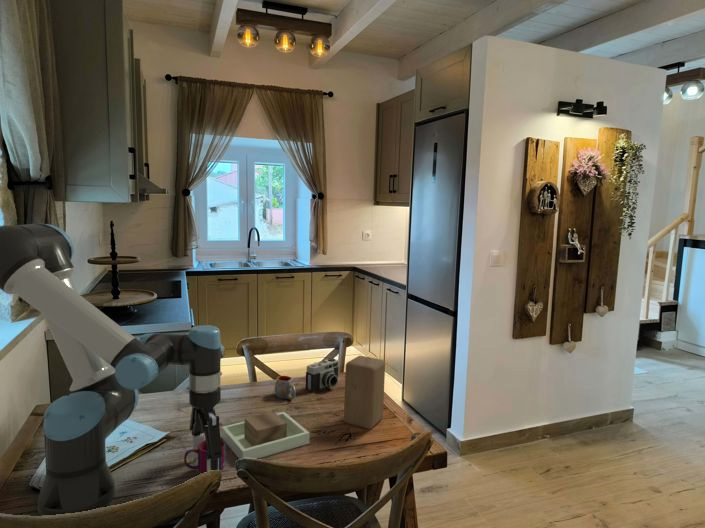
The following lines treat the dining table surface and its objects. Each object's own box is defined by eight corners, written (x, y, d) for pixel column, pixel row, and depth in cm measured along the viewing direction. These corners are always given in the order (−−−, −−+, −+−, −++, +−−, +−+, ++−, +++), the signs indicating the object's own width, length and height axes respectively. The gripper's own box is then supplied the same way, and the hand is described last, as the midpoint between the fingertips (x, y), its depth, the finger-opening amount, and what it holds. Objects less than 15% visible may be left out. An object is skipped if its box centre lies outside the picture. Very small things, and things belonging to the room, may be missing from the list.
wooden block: (342, 423, 150) (344, 362, 147) (356, 411, 159) (359, 354, 156) (370, 430, 145) (373, 368, 143) (383, 418, 154) (386, 359, 152)
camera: (317, 395, 170) (317, 368, 169) (302, 388, 177) (303, 362, 176) (346, 387, 179) (346, 362, 178) (332, 381, 186) (332, 356, 185)
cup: (225, 475, 119) (225, 450, 118) (183, 480, 116) (183, 454, 115) (224, 461, 125) (225, 437, 124) (185, 465, 122) (185, 441, 121)
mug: (271, 393, 171) (271, 376, 170) (288, 390, 175) (289, 373, 174) (284, 406, 161) (284, 387, 160) (302, 402, 164) (303, 384, 164)
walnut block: (257, 451, 129) (257, 430, 128) (244, 437, 136) (244, 418, 136) (286, 443, 134) (286, 423, 134) (272, 430, 142) (273, 411, 141)
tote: (242, 465, 123) (243, 451, 123) (221, 440, 136) (221, 426, 136) (309, 445, 135) (309, 432, 134) (283, 423, 148) (284, 411, 147)
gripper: (236, 401, 110) (236, 488, 113) (205, 370, 129) (205, 446, 132) (205, 408, 106) (205, 498, 109) (176, 375, 125) (177, 453, 128)
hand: (205, 469), depth 120 cm, fingers open, 11 cm apart
